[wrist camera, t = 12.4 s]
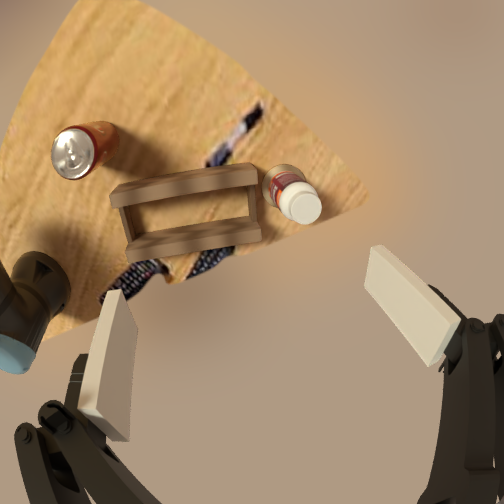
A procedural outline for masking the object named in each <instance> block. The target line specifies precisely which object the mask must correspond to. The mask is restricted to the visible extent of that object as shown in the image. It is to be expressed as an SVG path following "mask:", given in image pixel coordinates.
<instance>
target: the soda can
mask: <svg viewBox="0 0 504 504" xmlns="http://www.w3.org/2000/svg"><path fill="white" fill-rule="evenodd" d="M118 147H119V135H118V132H117V130H116V128H115V127H114V126H113V125H112V124H110V123H108V122H106V121H96V122H90V123H85V124H79V125H74V126H70V127H68V128H66V129H64V130H63V131H61V132H60V133H59V134H58V136H57V137H56V139H55V140H54V143H53V145H52V150H51V160H52V164H53V166H54V168H55V170H56V171H57V173H58V174H59V175H60V176H62V177H63V178H65V179H69V180H79V179H82V178H84V177H85V176H87V175H88V174H90V173H91V172H93V171H94V170H95V169H97V168H98V167H100V166H101V165H103V164H104V163H106V162H107V161H109V160H110V159H111V158H112V157H113V156H114V155H115V154H116V152H117V150H118Z"/></svg>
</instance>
